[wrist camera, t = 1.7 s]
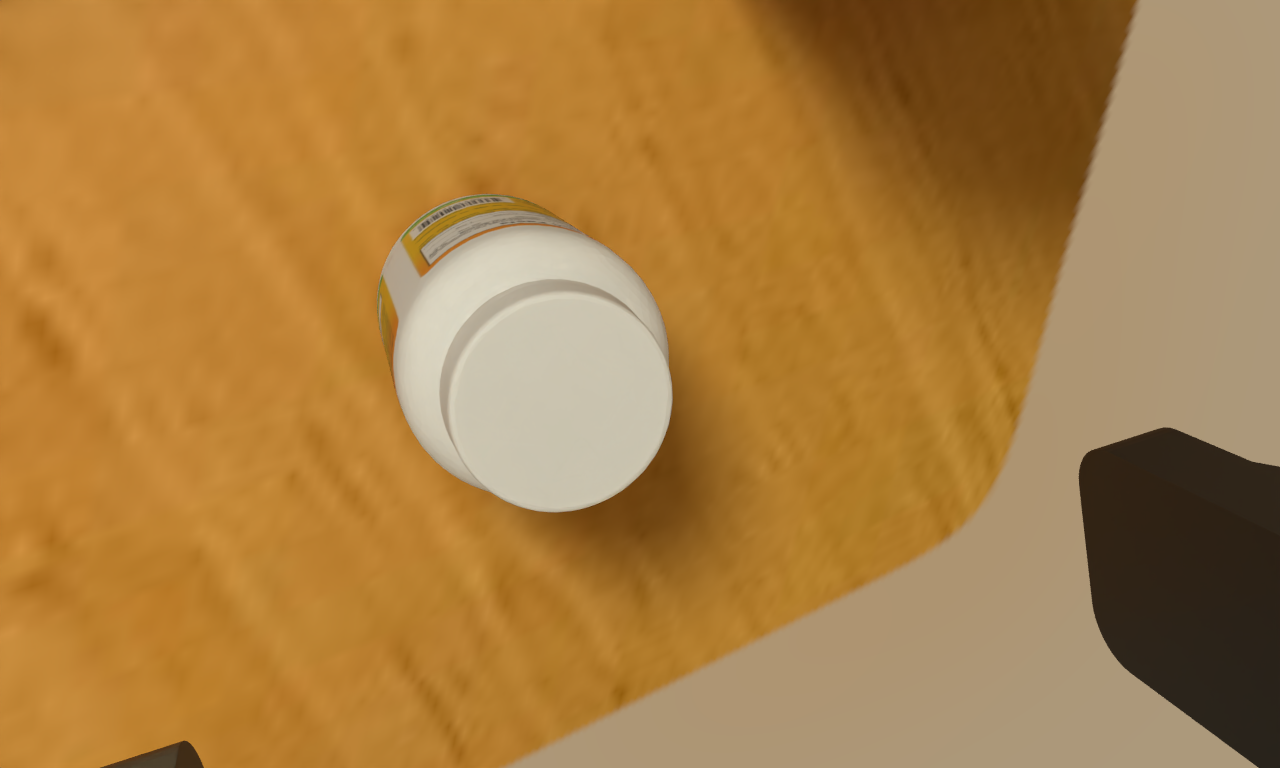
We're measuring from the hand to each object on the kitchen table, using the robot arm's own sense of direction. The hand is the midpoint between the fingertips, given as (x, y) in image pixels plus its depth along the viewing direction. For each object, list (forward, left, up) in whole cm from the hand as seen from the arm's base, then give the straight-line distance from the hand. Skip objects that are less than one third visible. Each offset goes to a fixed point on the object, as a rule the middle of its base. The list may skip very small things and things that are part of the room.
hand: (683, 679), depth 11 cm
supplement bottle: (-1, +1, -21) cm, 21 cm away
